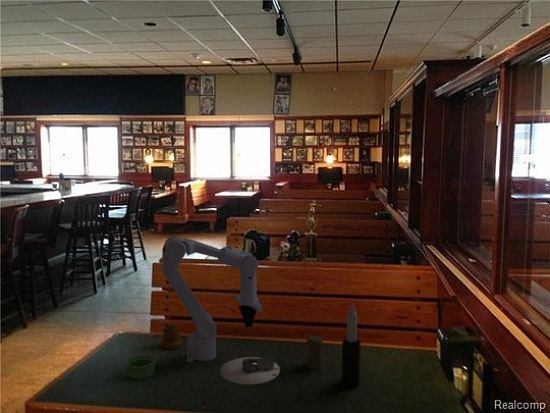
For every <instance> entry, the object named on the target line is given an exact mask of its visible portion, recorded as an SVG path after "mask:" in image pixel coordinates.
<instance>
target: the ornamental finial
mask: <svg viewBox="0 0 550 413" xmlns="http://www.w3.org/2000/svg"><path fill="white" fill-rule="evenodd" d="M160 343H161V344H160V345H161V348H162V349H164V350H166V351H167V350H169V351H173V350H177V349H180V348H181V347H182V346H183V340H182V338H181V333H180V327H178V326H177V325H176V324H173V323H169V324H168V325H167V326H165V327H164V329H163V339H162V341H161V342H160Z"/></svg>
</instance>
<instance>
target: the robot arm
mask: <svg viewBox="0 0 550 413" xmlns="http://www.w3.org/2000/svg"><path fill="white" fill-rule="evenodd" d="M161 254H162V256H161V271H162V273H163V276H164V277H165V278H166V280H167V282H168V283H169V284H170V286H171V288H172V290H173V291H174V293H175V294H176V295H177V297H178V298H179V300H180V301H181V303H182V304H183V306H184V307H185V309H186V311H187V312H188V314H189V315H190V317H191V319H192V320H193V323H194V326H195V327H196V330H195V332H192V333H189V335H188V337H187V341H186V360H185V362H186V363H189V364H190V363H191V364H192V363H194V361H196V360H197V361H201V362H207V361H213V360H214V359H215V358H217V333H216V332H217V324H216V323H215V321H214V319H213V316H212V314H210V313H209V312H207V311H205V309H204V307H203V306H202V305H201V303H200V302H199V301H198V299H197V297H196V296H195V294H194V293H193V291H192V290H191V288H190V286H189V285H188V283H187V281H186V280H185V279H184V277H183V275H182V274H181V272H180V271H179V266H180V262H181V261H182V260H183V259H184V257H185V255H186V256H191V255H193V254H200V255H202V256H207V257H211V258H216V259H217V260H218V262H219V263H220V264H222V265H226V266H229V267H232V268H235V269H236V268H239V295H235V299H234V300H235V301H234V302H236V303H239V304H240V305H239V306H238V311H240V314H241V316H242V318H243V322H244V325H245V328H250V327H253V324H254V319H255V318H256V314H257V313H259V312H263V305H262V304H261V303H260V302H259V301H260V298H257V291H258V290H257V269H258V267H259V262H258V259H257V257H256V256H254V255H253V254H252V253H250V252H249V251H245V250H237V249H234V248H233V246H230V245H228V246H223V247H221V248H218V247H216V246H212V245H209V244H206V243H203V242H200V241H198V240H194V239H191V238H186V237H180V236H175V235H173V236H169V237H167V239H166V240H165V242H164V244H163V247H162V251H161Z"/></svg>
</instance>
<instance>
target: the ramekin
mask: <svg viewBox="0 0 550 413" xmlns="http://www.w3.org/2000/svg"><path fill="white" fill-rule="evenodd" d="M155 364H156V357H154V356H153V355H148V354H141V355H140V354H139V355H136V356H132V357H130V358H128V360H126V364H125V365H126V368H127V376H128V377H129V378H130V379H133V380H145V379H147V378H151V377H152V376H153V375H154V374H155Z"/></svg>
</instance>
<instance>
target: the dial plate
mask: <svg viewBox="0 0 550 413" xmlns="http://www.w3.org/2000/svg"><path fill="white" fill-rule="evenodd" d="M248 358H253V359H256V358H258V357H257V356H254V357H253V356H247V357H238V358H234V359H232V360H229V361H227V362H225V363H224V364H223V365H221V367H220V369H219V374H220V376H221V378H224V379H225V380H227V381H229V382H231V383H234V384H240V385H257V384H263V383H268V382H270V381H272V380H273V379H275V378H277V376H279V374H280V372H281V369H280V365H278V363H276V362H275V361H274V369H264V370H257V371H255V372H244V371H243V370H242V361H243V360H244V359H248Z"/></svg>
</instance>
